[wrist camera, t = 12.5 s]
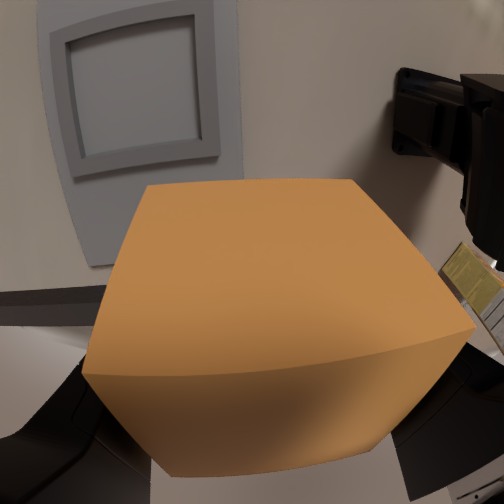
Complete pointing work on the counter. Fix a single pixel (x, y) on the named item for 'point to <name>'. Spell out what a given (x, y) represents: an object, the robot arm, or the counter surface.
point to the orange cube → (267, 326)
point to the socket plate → (137, 104)
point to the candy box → (479, 289)
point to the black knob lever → (51, 306)
